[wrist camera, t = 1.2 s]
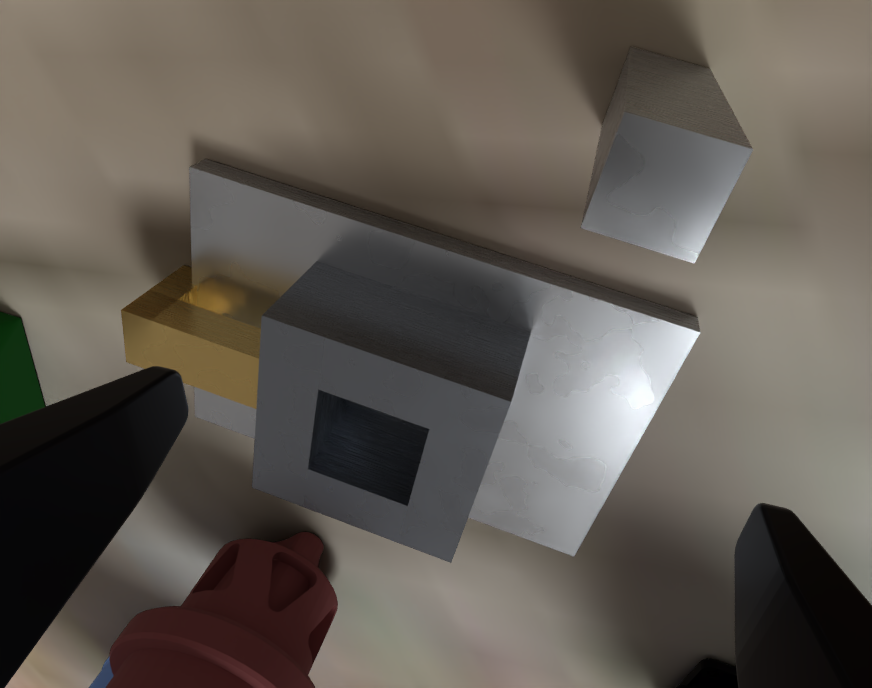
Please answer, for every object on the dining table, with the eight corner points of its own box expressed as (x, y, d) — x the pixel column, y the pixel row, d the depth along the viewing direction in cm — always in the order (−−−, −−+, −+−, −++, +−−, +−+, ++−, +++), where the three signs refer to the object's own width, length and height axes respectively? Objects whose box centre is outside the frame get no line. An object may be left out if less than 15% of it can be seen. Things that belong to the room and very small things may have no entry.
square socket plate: (698, 317, 21) (711, 409, 17) (575, 538, 28) (564, 641, 24) (180, 150, 23) (80, 196, 19) (188, 396, 30) (115, 469, 26)
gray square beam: (710, 68, 17) (753, 149, 10) (675, 147, 18) (694, 263, 12) (630, 46, 17) (624, 111, 11) (601, 126, 18) (580, 227, 12)
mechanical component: (376, 637, 36) (222, 591, 38) (375, 520, 31) (194, 474, 33) (275, 902, 26) (73, 822, 28) (247, 800, 21) (-2, 709, 23)
